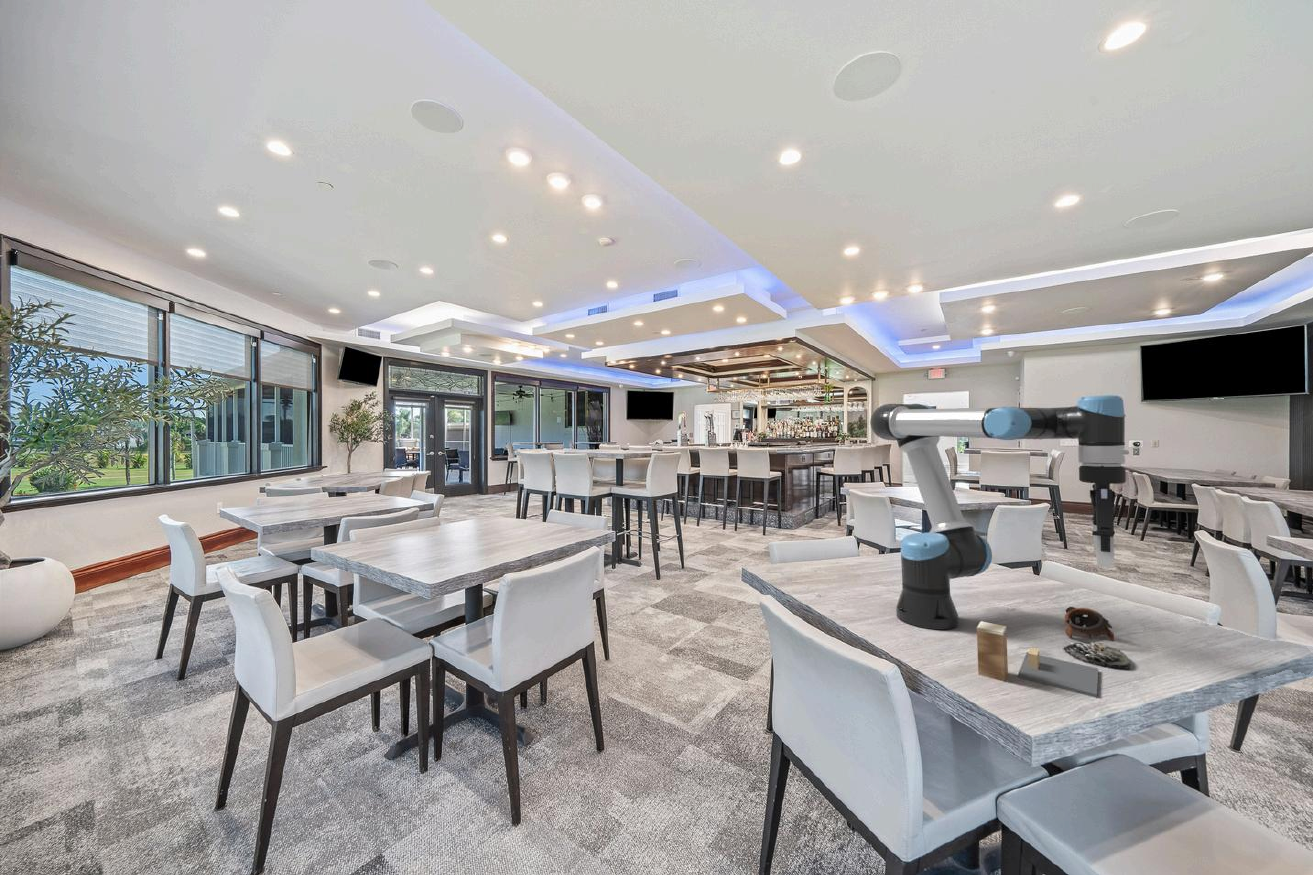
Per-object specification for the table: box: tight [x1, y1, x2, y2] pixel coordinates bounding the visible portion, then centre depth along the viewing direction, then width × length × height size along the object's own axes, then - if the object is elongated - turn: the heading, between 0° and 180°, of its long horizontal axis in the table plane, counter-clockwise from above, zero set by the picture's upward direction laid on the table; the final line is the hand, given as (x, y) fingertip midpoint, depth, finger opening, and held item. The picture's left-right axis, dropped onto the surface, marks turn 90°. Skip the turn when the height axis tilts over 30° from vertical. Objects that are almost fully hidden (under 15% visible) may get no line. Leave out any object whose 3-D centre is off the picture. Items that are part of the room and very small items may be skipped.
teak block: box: [976, 620, 1009, 682], centre depth 99 cm, size 4×4×10 cm
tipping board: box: [1017, 647, 1099, 698], centre depth 98 cm, size 12×14×4 cm
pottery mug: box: [1064, 606, 1115, 642], centre depth 117 cm, size 12×10×8 cm
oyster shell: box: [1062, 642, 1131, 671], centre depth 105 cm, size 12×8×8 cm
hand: (1103, 560), depth 103 cm, fingers open, 13 cm apart
